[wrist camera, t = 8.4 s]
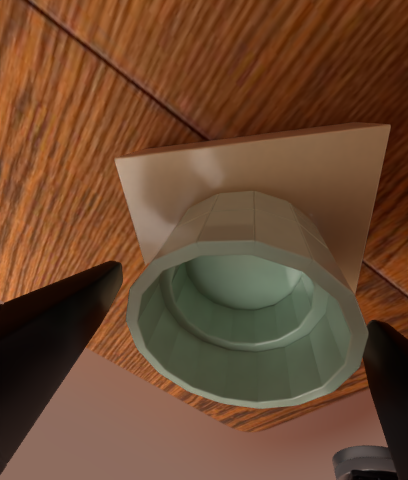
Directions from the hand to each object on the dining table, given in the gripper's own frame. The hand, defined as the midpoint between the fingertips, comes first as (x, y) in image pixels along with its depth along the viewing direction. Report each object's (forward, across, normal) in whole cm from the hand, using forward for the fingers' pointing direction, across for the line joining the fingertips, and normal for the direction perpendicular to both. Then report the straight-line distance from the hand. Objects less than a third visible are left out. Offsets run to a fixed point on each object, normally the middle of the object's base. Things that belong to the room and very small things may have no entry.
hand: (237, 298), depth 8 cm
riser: (+6, 0, 0) cm, 6 cm away
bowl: (+3, 0, 0) cm, 3 cm away
